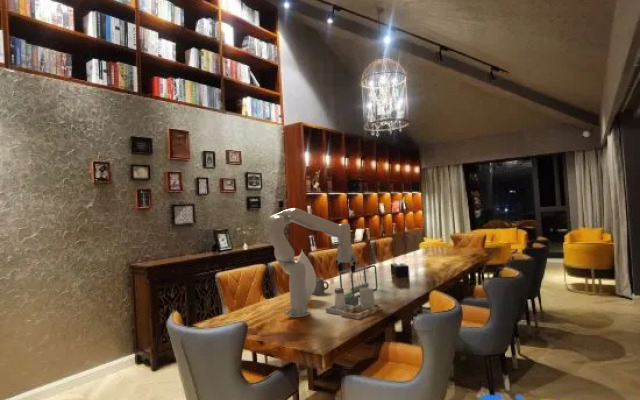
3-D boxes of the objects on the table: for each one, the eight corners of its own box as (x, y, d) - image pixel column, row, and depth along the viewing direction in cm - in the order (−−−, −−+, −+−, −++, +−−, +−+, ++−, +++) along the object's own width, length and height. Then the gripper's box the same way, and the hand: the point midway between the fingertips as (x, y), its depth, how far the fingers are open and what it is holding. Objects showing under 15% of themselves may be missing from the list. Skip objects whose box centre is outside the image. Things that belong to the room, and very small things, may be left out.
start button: (349, 303, 244) (349, 293, 244) (344, 302, 247) (343, 293, 247) (353, 302, 247) (353, 292, 247) (348, 301, 250) (348, 291, 250)
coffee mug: (308, 294, 286) (307, 280, 286) (313, 291, 295) (312, 277, 295) (325, 295, 280) (324, 280, 280) (330, 291, 290) (329, 277, 290)
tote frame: (341, 315, 228) (341, 310, 228) (326, 312, 236) (325, 308, 236) (355, 310, 237) (354, 305, 237) (339, 307, 245) (339, 303, 245)
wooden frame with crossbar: (357, 319, 218) (357, 314, 218) (340, 316, 226) (340, 311, 226) (382, 309, 234) (381, 304, 234) (365, 306, 243) (365, 302, 243)
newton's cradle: (365, 288, 293) (363, 263, 293) (378, 289, 286) (376, 264, 286) (340, 297, 270) (338, 271, 270) (353, 299, 263) (351, 272, 263)
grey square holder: (350, 308, 242) (349, 299, 242) (340, 306, 247) (339, 298, 247) (358, 305, 247) (358, 296, 247) (348, 303, 253) (347, 295, 253)
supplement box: (372, 308, 238) (371, 286, 238) (375, 311, 231) (373, 289, 231) (360, 309, 238) (358, 287, 238) (362, 312, 230) (360, 290, 230)
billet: (341, 313, 232) (339, 290, 232) (333, 311, 236) (331, 289, 236) (347, 310, 237) (346, 288, 237) (339, 309, 241) (338, 287, 241)
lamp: (289, 303, 264) (286, 249, 264) (298, 297, 279) (295, 246, 279) (312, 303, 259) (308, 249, 259) (320, 297, 274) (316, 246, 274)
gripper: (330, 244, 252) (332, 271, 252) (352, 244, 241) (354, 273, 240) (337, 242, 258) (339, 269, 257) (359, 243, 246) (361, 271, 246)
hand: (346, 271), depth 249 cm, fingers open, 9 cm apart
